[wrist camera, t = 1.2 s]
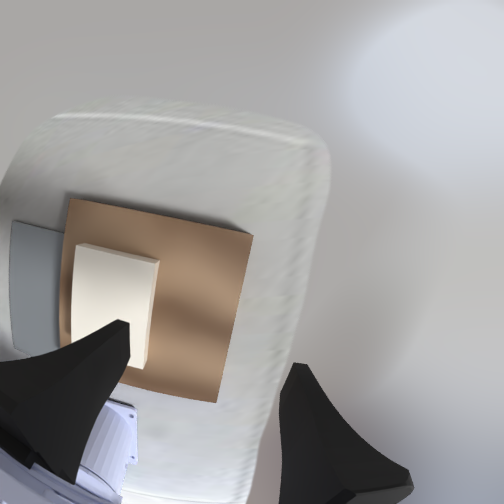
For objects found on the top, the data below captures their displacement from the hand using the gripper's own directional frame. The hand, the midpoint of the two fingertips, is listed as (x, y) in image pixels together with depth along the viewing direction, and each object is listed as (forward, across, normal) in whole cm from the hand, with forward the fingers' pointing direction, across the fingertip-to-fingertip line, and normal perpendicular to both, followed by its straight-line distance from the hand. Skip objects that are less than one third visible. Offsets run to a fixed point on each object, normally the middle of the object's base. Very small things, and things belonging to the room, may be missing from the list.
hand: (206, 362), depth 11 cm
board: (+9, +6, +4) cm, 12 cm away
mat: (+8, +15, +6) cm, 18 cm away
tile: (+7, +8, +4) cm, 11 cm away
